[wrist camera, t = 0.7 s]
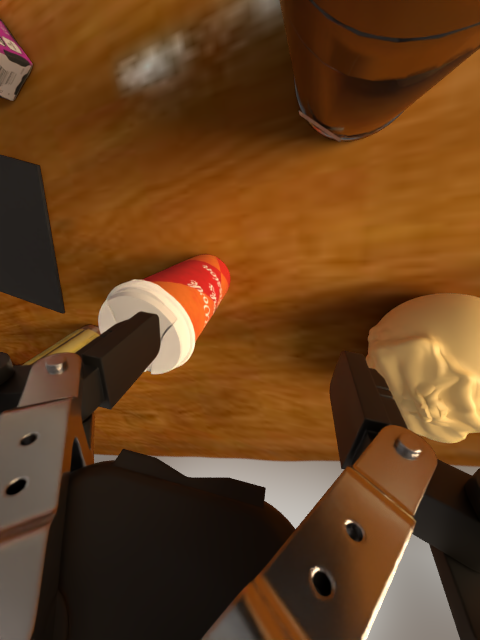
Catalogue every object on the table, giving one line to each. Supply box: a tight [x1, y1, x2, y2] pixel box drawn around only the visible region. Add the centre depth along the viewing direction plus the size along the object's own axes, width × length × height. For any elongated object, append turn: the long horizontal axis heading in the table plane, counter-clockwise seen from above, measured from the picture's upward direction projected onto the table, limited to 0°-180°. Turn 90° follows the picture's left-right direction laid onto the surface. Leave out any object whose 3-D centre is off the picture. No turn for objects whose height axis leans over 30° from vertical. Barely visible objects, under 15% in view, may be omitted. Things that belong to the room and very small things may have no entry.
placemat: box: [0, 155, 65, 313], centre depth 35 cm, size 20×14×1 cm
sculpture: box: [366, 293, 480, 443], centre depth 22 cm, size 11×12×11 cm
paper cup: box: [98, 254, 230, 374], centre depth 24 cm, size 8×8×14 cm
